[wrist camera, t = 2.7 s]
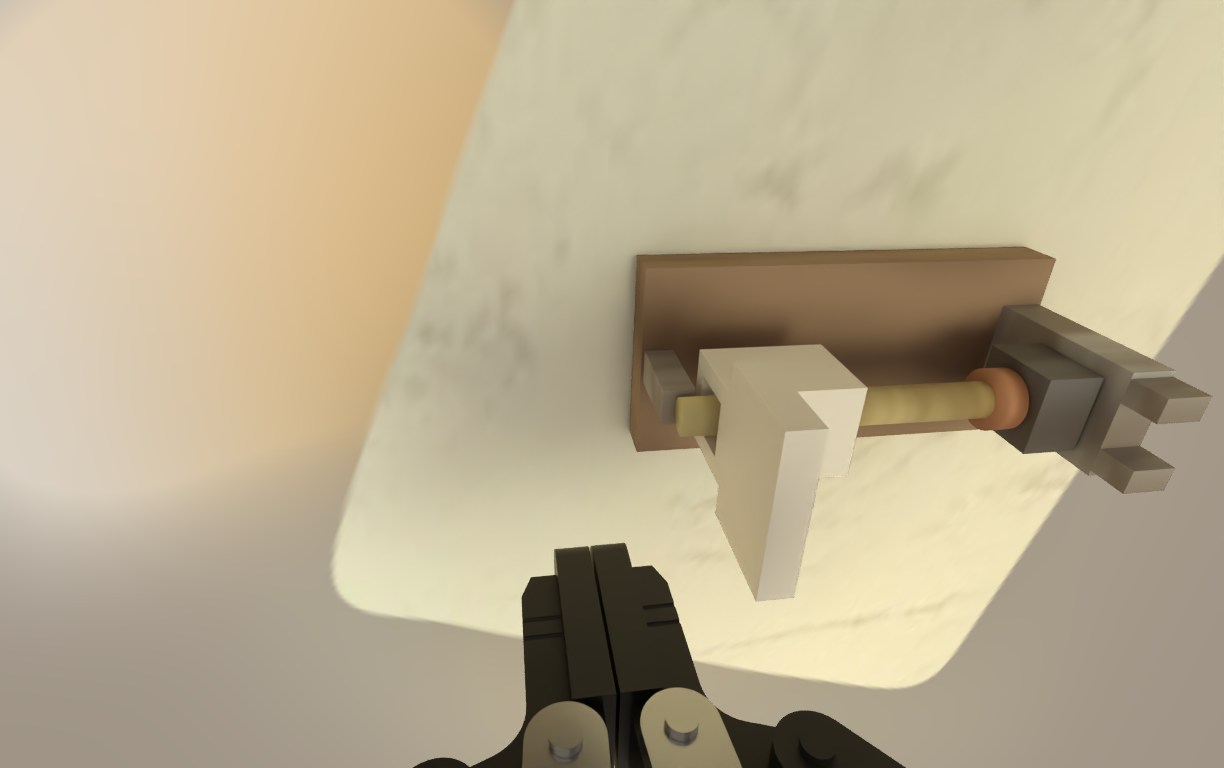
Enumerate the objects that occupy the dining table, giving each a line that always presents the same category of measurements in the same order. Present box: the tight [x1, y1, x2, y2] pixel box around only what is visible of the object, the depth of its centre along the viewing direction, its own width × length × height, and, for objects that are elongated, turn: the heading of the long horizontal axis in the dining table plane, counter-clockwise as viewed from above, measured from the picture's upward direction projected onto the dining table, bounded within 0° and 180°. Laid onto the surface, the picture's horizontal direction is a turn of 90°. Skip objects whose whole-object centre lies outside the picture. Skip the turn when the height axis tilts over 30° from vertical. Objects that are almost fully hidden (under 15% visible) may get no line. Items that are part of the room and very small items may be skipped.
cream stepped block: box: [694, 344, 868, 602], centre depth 18 cm, size 5×4×6 cm
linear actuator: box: [630, 247, 1212, 494], centre depth 21 cm, size 7×15×8 cm, turn 89°
